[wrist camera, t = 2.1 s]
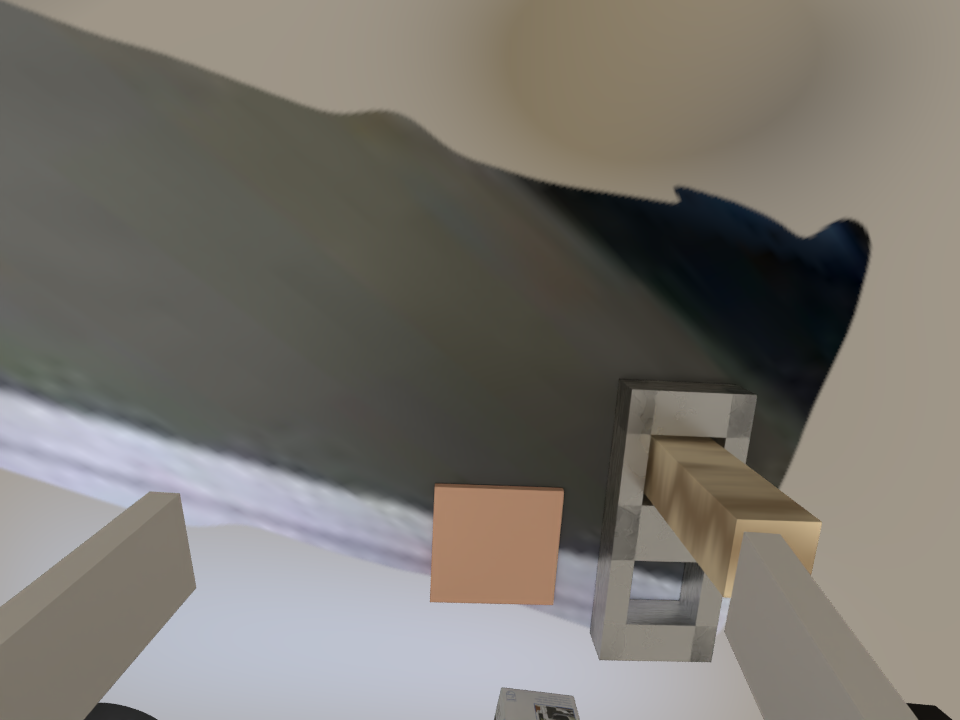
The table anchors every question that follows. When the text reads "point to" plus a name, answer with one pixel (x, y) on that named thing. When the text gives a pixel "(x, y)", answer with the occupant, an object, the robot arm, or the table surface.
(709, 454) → the peg
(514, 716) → the light bulb box
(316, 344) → the table surface
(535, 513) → the pad
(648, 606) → the rail
